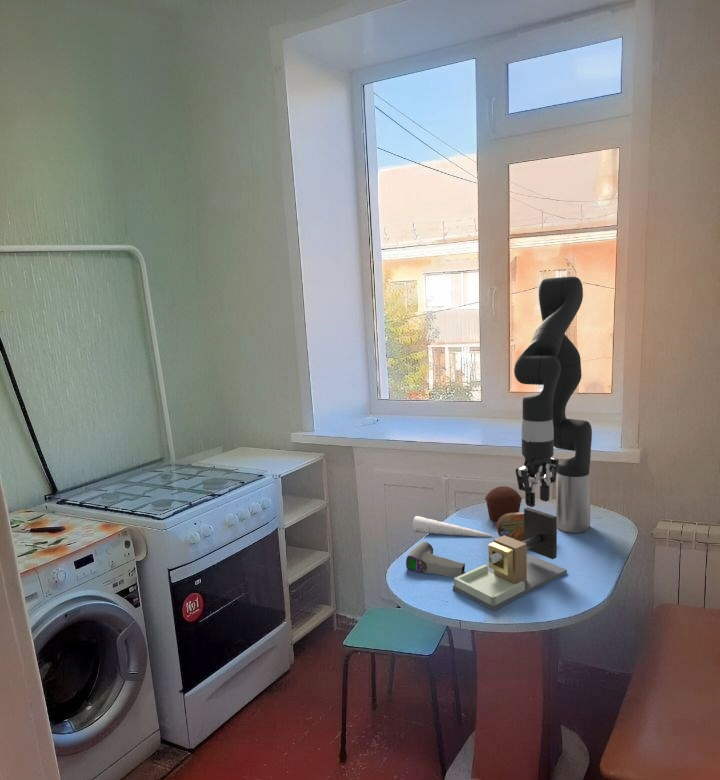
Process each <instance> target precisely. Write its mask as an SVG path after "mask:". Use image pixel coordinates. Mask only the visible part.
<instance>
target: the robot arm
mask: <svg viewBox="0 0 720 780" xmlns="http://www.w3.org/2000/svg"><path fill="white" fill-rule="evenodd" d="M582 283H583V282H582V281H581V279H580V278H579V277H577V276H563V277H562V276H561V277H551V278H544V279H542V280H541V281H540V282H539V285H538V303H539V308H540V315H541V323H540V324H539V325H538V326H537V328H536V329H535V331H534V334H533V338H532V340H531V342H530V344H529V345H528V346H527V347H526V348H525V349H524V350H523V352H522V353H520V355H519V356H518V358H517V359H516V361H515V364H514V369H513V371H514V373H513V374H514V377H515V379H516V380H517V382H518V383H520V384H522V385H536V386H540V385H541V386H543V387H542V390H541V391H539V392H535V393H529V394H526V395H524V396H523V398H522V423H521V454H522V456H523V458H524V463H523V466H522V467H516V468H515V475H516V480H517V485H518V490H520V491H524V492H525V493H524V496H525V498H524V499H525V500H524V501H525V504H526V506H527V507H529V508H533V507H535V505H536V492H535V491H536V487H537V484H538V483H539V484H540V485H539V499H540V500H541V501H543V502H549V501H550V494H551V493H550V490H551V489H550V487H552V484H553V483H554V484H555V483H556V494H555V495H556V497H555V498H556V500H555V502H556V503H555V505H556V508H555V513H556V514H555V515H556V517H557V529H558V530H560V531H562V532H565V533H572V534H575V533H576V534H577V533H579V534H581V533H585V532H587V531H589V528H590V527H591V495H590V467H591V459H592V456H591V453H592V442H593V430H592V425H591V423H590V422H589V421H587V420H582V419H573V418H567V417H566V408H567V404H568V403H569V400H570V399H571V397H572V395H573V394H574V392H576V390H577V388H578V386H579V384H580V383H581V381H582V380H581V379H582V376H583V375H582V363H581V362H582V361H581V359H582V358H581V355H580V354H581V353H580V352H579V351H578V349H577V347H576V346H575V345H574V343H573V342H572V340H570V338H569V337H568V336H567V334H566V332H567V330H568V328H569V327H570V325H571V324H572V322H573V320H574V319H575V317H576V315H577V313H578V312H579V311H580V308H581V305H582V303H583V298H584V287H583V284H582ZM554 449H559V450H565V451H573V452H575V454H574V457H570V458H564V459H561V460H559V459H557V458H554V457H553V456H554V453H555V452H554ZM530 483H531V484H530Z"/></svg>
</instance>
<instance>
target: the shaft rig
mask: <svg viewBox="0 0 720 780" xmlns="http://www.w3.org/2000/svg"><path fill="white" fill-rule="evenodd" d="M493 542H495V543H497V544H500V545H502V546H505V547H507V548H510V549H512V550H513V573H512V574H510V575H508V576H507V575H505V574H503V573H501V572H498V571H496V570H494V569H492V568H490V569H488V565H487V564H483V565H481V566H479V567H476V568H474V569H472V570H469V571H467V572H464V574H462V575H460V576H458V577H453V585H452V590H453V591H454V592H456V593H459V594H461V595H462V596H464V597H467V598H468V599H470V600H472V601H473V602H475V603H478V604H480V605H481V606H484V607H485V608H488V609H489V610H491V611H493V612H494V611H495V610H497V609H499V608H502V607H503V606H505V605H508V604H510V603H512V602H513V601H516V600H517V599H519V598H521V597H523V596H525V595H527V594H529V593H531V592H533V591H535V590H537V589H539V588H541V587H543V586H545V585H547V584H549V583H551V582H553V581H555V580H557V579H559V578H561V577H562V576H564V575H566V574H567V569H566V568H564V567H562V566H559V565H556V564H554V563H551V562H548V561H547V560H545V559H544V560H543V559H541V558H538V557H536V556H534V555H531V554H529V553H527V544H526V543H523V542H521V541H518V540H515V539H513V538H510V537H508V536H505V535H504V536H501V537H500V536H499V537H497V538H494V539H493ZM498 562H499V563H502V564H504V559H503V560H500V561H498Z"/></svg>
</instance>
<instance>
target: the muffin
mask: <svg viewBox="0 0 720 780" xmlns="http://www.w3.org/2000/svg"><path fill="white" fill-rule="evenodd" d="M522 499H523V497H522V496H521V495H520V494H519V493H518V491H517V490H515V489H514V488H512V487H509V486H506V485H505V486H504V485H503V486H502V485H501V486H496V487H494V488H492V489H491V490H490V491H488V493H487V494H486V496H485V498H484V500H485V502H486V508H487V513H488V517H489V519H490V520H491V521H492V522H494V523H497V522H498V520H499V518H500V517H501V516H503V515H504V514H507V513H519V512H520V509H521V503H522Z"/></svg>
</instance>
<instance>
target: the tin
mask: <svg viewBox="0 0 720 780" xmlns="http://www.w3.org/2000/svg"><path fill="white" fill-rule="evenodd" d="M496 533H497V534H498V536H499V537H501V536H504V535H505V536H508V537H510V538H513V539H515V540H518V541H521V542H523V541H524V511H519V513H507V514H504V515H503V516H501V517H500V518H499V520H498V522H496Z"/></svg>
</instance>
